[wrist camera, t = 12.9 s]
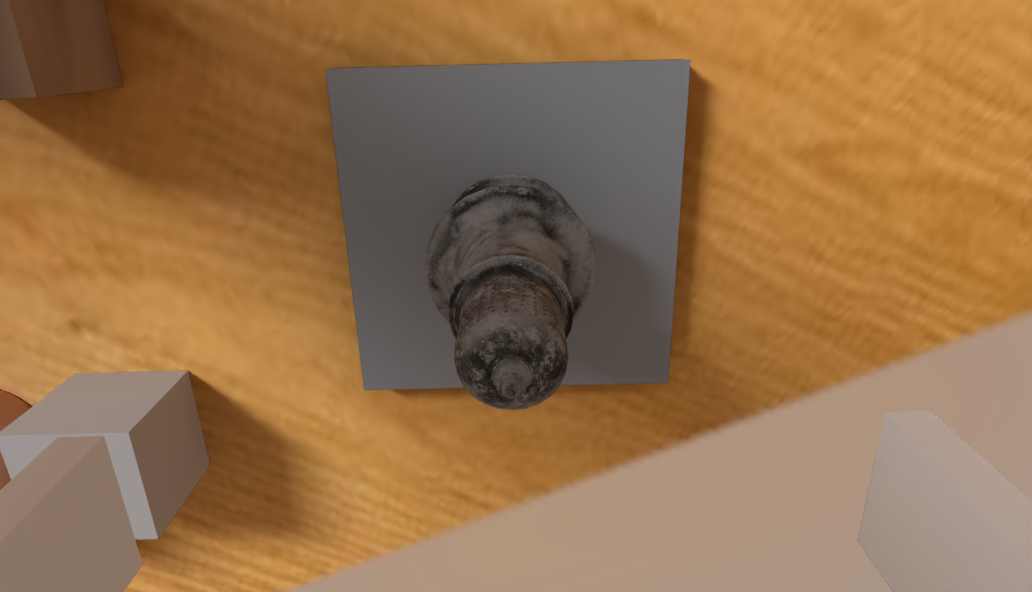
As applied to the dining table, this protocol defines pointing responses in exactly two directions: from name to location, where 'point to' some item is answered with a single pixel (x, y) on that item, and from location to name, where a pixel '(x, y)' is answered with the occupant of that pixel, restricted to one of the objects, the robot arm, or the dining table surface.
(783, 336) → the dining table surface
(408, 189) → the slate board
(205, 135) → the dining table surface
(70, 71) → the walnut block
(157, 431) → the grey block
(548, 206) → the salt shaker
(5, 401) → the peach rounded capsule
